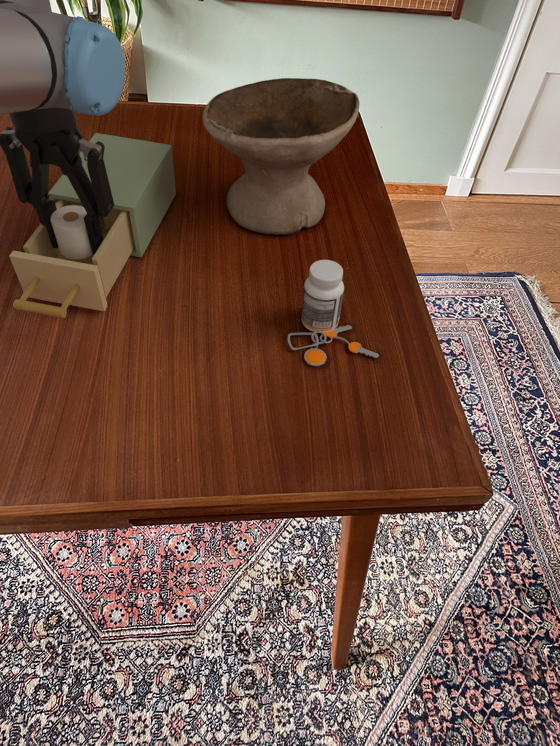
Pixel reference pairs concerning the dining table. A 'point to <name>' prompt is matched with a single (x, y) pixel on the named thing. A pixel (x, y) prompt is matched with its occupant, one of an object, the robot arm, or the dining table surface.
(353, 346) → the key chain
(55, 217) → the paper roll
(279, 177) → the bowl
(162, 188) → the cabinet
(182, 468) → the dining table surface
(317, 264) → the pill bottle
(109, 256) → the drawer
